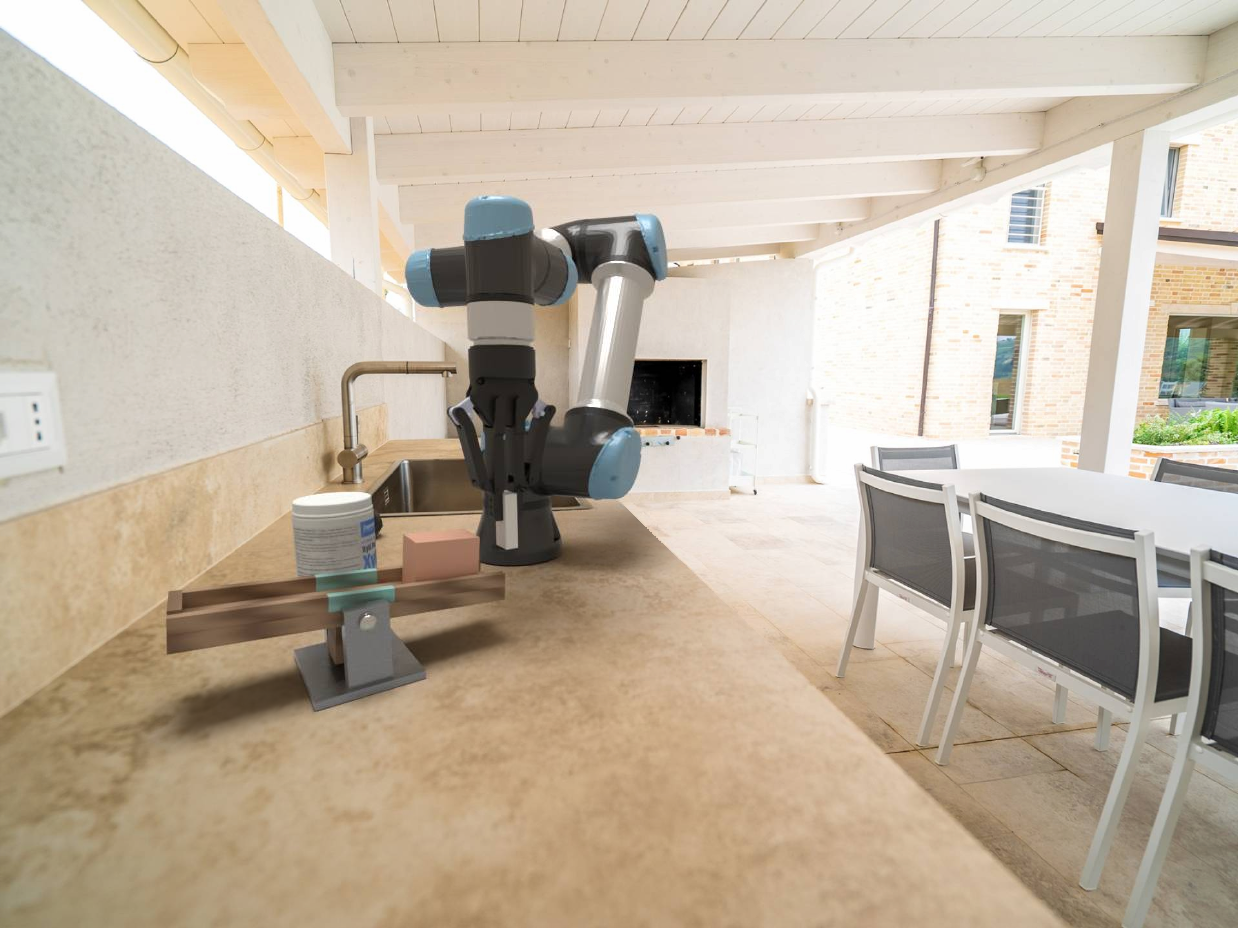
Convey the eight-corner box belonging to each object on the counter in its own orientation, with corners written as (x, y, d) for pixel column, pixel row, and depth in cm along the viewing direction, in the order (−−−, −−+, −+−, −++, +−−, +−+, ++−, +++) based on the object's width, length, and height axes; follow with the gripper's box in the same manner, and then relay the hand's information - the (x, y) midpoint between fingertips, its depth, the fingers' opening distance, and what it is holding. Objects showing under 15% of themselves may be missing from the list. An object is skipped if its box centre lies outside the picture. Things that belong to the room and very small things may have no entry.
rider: (462, 574, 68) (464, 529, 68) (478, 585, 65) (479, 537, 64) (402, 582, 64) (403, 533, 64) (414, 594, 61) (416, 542, 60)
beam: (475, 616, 72) (477, 554, 71) (503, 638, 66) (505, 571, 65) (170, 669, 54) (168, 587, 53) (167, 708, 48) (166, 615, 47)
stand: (389, 632, 68) (385, 564, 67) (426, 678, 58) (422, 598, 57) (294, 656, 63) (287, 581, 61) (315, 711, 52) (308, 623, 51)
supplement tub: (386, 610, 75) (379, 499, 73) (303, 627, 70) (294, 508, 68) (371, 588, 83) (365, 488, 81) (296, 602, 78) (287, 495, 76)
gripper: (536, 348, 73) (540, 531, 76) (433, 343, 65) (442, 548, 68) (568, 345, 67) (570, 544, 70) (459, 340, 59) (467, 563, 62)
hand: (507, 545), depth 69 cm, fingers closed
